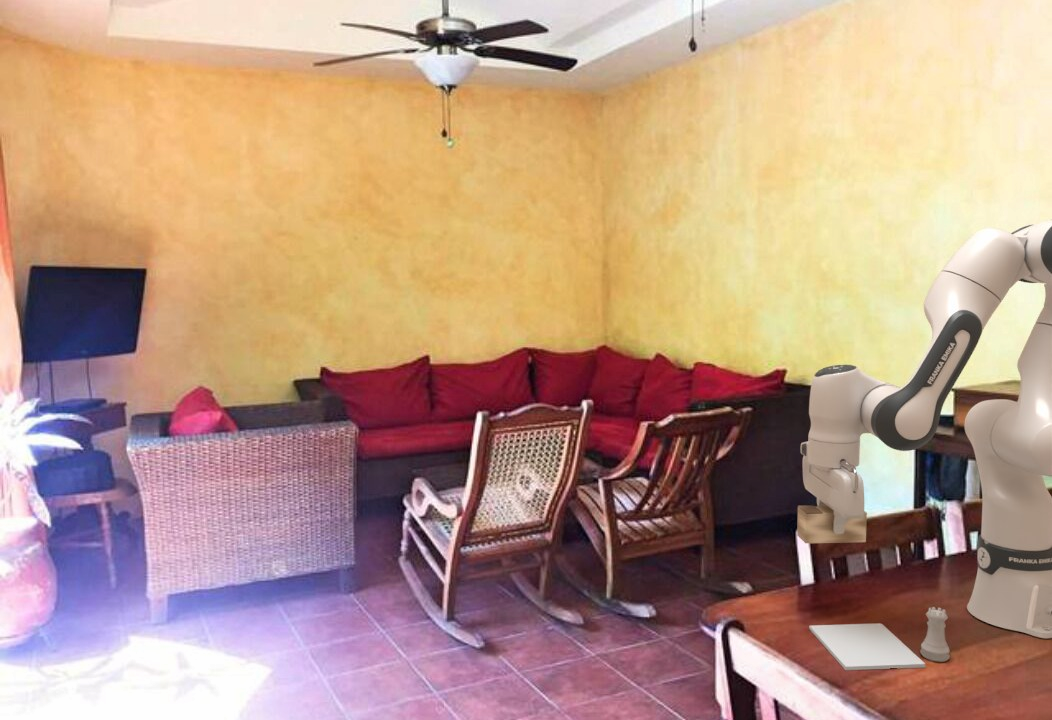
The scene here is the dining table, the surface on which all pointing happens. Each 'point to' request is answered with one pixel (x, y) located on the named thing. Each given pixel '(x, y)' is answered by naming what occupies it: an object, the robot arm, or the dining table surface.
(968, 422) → the robot arm
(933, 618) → the rook chess piece
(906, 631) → the dining table surface
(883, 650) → the rubber mat
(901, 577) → the dining table surface
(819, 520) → the maple block
